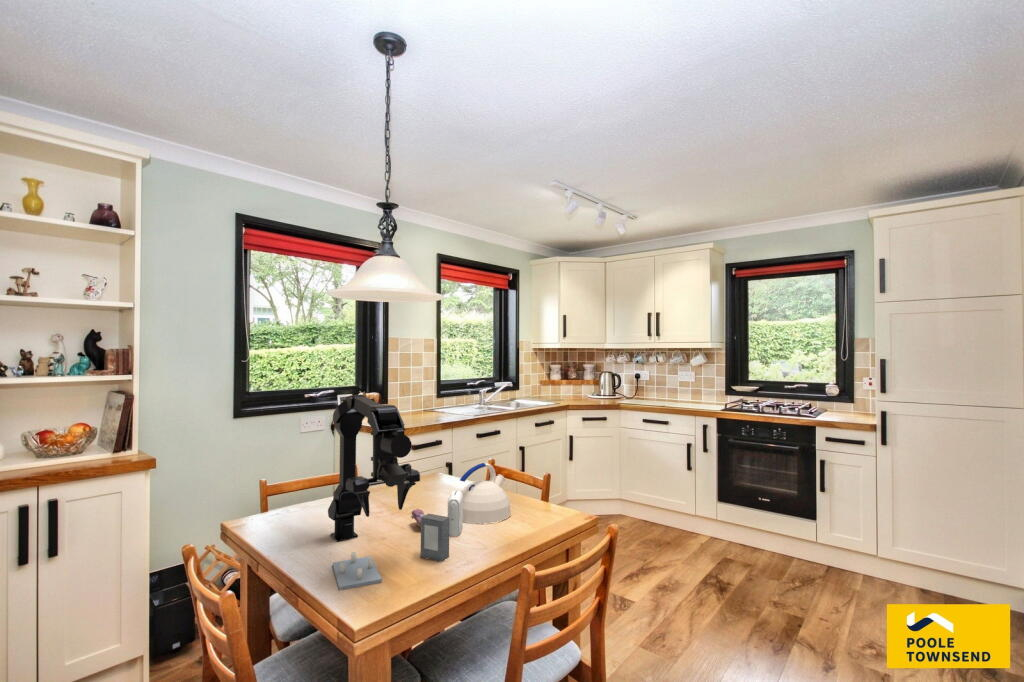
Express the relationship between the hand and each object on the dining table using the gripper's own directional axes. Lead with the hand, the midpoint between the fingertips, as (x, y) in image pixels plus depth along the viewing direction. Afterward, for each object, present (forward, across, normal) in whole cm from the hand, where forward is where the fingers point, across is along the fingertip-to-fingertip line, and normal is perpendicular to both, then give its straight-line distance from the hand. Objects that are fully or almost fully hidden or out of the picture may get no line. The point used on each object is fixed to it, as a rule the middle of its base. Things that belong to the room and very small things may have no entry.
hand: (384, 512), depth 128 cm
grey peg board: (+14, -7, +2) cm, 16 cm away
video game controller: (+14, +23, +21) cm, 34 cm away
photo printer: (+14, +30, +12) cm, 35 cm away
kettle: (+14, +46, +19) cm, 51 cm away
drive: (+14, +14, -2) cm, 20 cm away
